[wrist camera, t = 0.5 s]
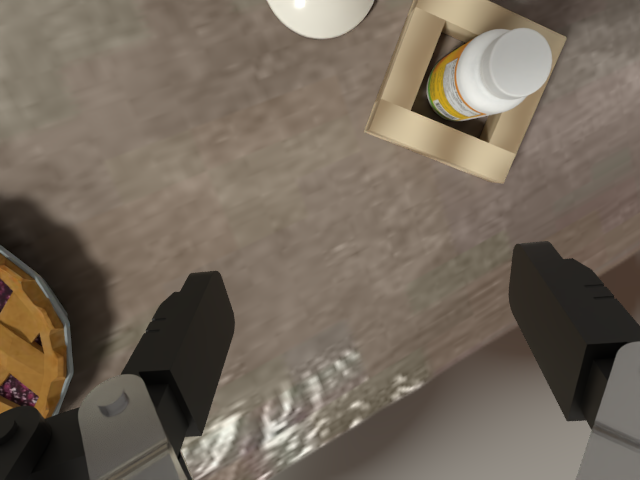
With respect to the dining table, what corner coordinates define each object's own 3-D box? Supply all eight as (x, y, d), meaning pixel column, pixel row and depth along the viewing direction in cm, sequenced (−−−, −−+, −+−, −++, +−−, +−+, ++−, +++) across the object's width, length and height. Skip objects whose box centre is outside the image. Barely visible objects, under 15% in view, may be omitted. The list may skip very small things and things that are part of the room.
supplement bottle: (488, 52, 34) (566, 11, 25) (487, 119, 36) (562, 106, 26) (424, 55, 34) (479, 15, 25) (425, 124, 35) (478, 111, 26)
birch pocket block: (363, 131, 35) (369, 130, 33) (419, -16, 33) (428, -28, 31) (490, 181, 37) (503, 183, 34) (549, 44, 35) (566, 37, 33)
